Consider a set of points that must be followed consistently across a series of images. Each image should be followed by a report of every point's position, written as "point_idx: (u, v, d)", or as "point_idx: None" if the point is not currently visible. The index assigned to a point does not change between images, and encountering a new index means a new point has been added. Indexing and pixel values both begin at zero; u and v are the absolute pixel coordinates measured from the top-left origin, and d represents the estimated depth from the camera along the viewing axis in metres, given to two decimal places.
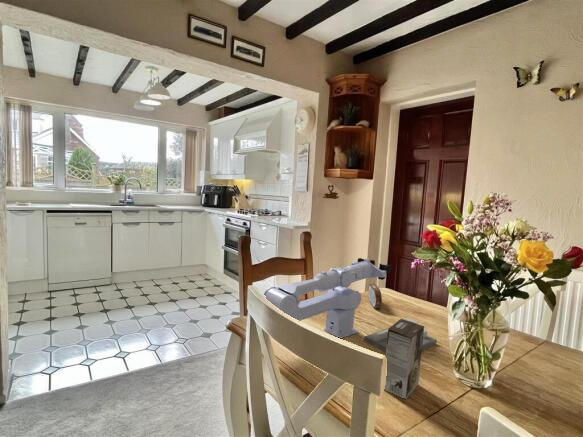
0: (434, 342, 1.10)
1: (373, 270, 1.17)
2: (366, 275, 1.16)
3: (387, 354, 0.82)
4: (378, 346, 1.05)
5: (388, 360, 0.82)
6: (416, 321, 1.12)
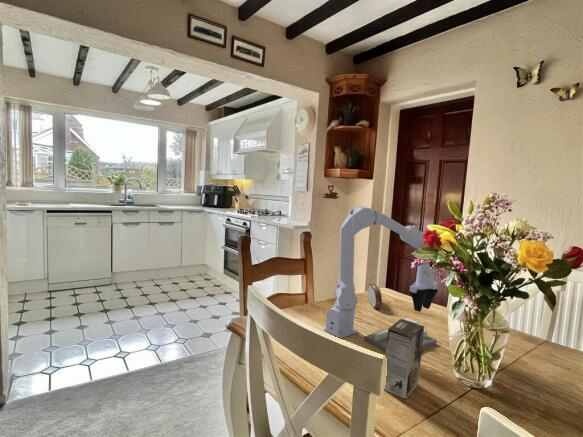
0: (434, 342, 1.10)
1: (420, 285, 1.13)
2: (419, 275, 1.14)
3: (387, 354, 0.82)
4: (378, 346, 1.05)
5: (388, 360, 0.82)
6: (416, 321, 1.12)
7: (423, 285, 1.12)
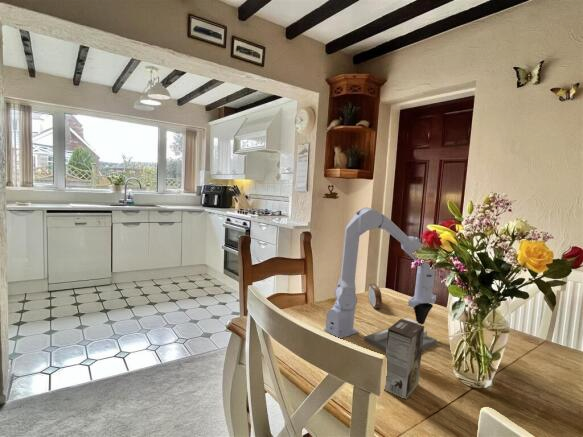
0: (434, 342, 1.10)
1: (419, 300, 1.13)
2: (417, 289, 1.14)
3: (387, 354, 0.82)
4: (378, 346, 1.05)
5: (388, 360, 0.82)
6: (416, 321, 1.12)
7: (421, 299, 1.13)
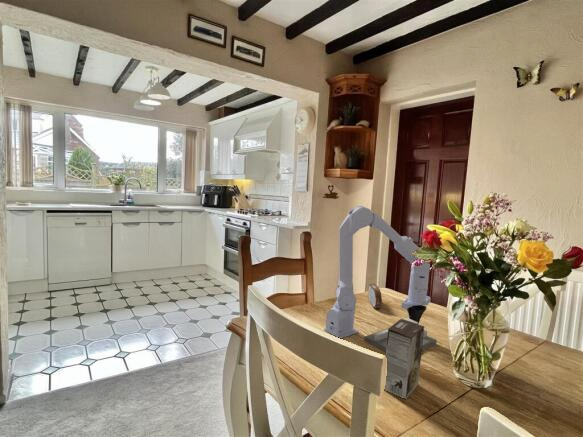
0: (434, 342, 1.10)
1: (412, 302, 1.11)
2: (411, 291, 1.12)
3: (387, 354, 0.82)
4: (378, 346, 1.05)
5: (388, 360, 0.82)
6: (415, 321, 1.12)
7: (415, 301, 1.10)
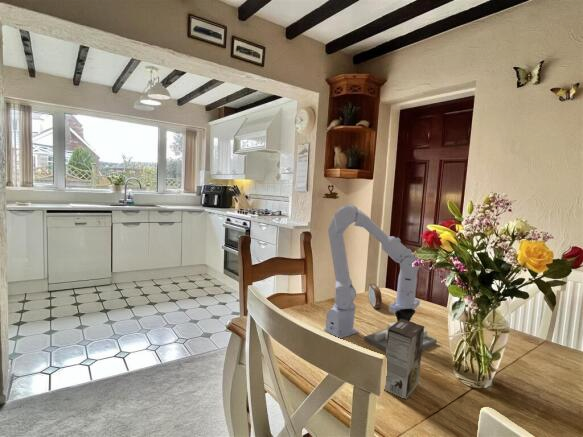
0: (434, 342, 1.10)
1: (400, 305, 1.07)
2: (399, 294, 1.07)
3: (387, 354, 0.82)
4: (378, 346, 1.05)
5: (388, 360, 0.82)
6: None
7: (403, 305, 1.06)
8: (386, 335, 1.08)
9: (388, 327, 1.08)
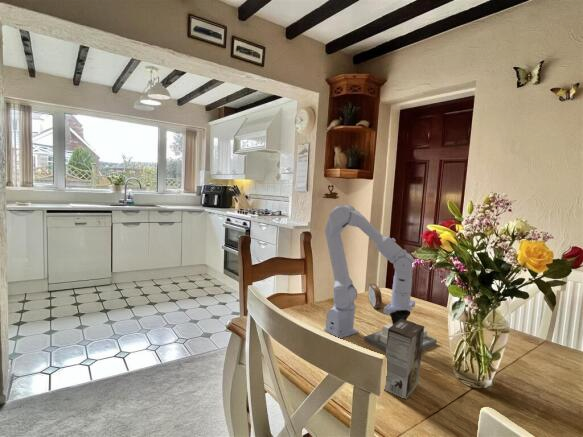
0: (434, 342, 1.10)
1: (395, 306, 1.05)
2: (393, 295, 1.06)
3: (387, 354, 0.82)
4: (378, 346, 1.05)
5: (388, 360, 0.82)
6: None
7: (398, 306, 1.05)
8: (381, 337, 1.06)
9: (383, 329, 1.06)
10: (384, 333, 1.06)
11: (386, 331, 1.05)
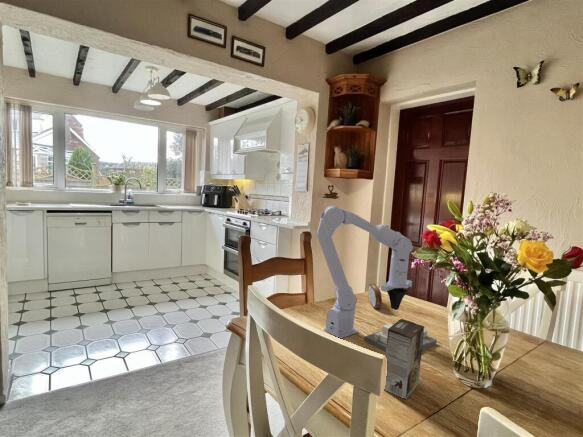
0: (434, 342, 1.10)
1: (392, 285, 1.12)
2: (391, 274, 1.12)
3: (387, 354, 0.82)
4: (378, 346, 1.05)
5: (388, 360, 0.82)
6: None
7: (395, 284, 1.11)
8: (381, 337, 1.06)
9: (383, 329, 1.06)
10: (384, 333, 1.06)
11: (386, 331, 1.05)
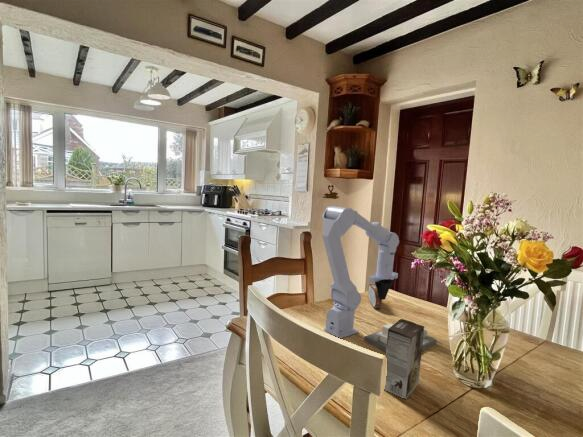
0: (434, 342, 1.10)
1: (380, 276, 1.21)
2: (378, 267, 1.22)
3: (387, 354, 0.82)
4: (378, 346, 1.05)
5: (388, 360, 0.82)
6: None
7: (382, 276, 1.21)
8: (381, 337, 1.06)
9: (383, 329, 1.06)
10: (384, 333, 1.06)
11: (386, 331, 1.05)
